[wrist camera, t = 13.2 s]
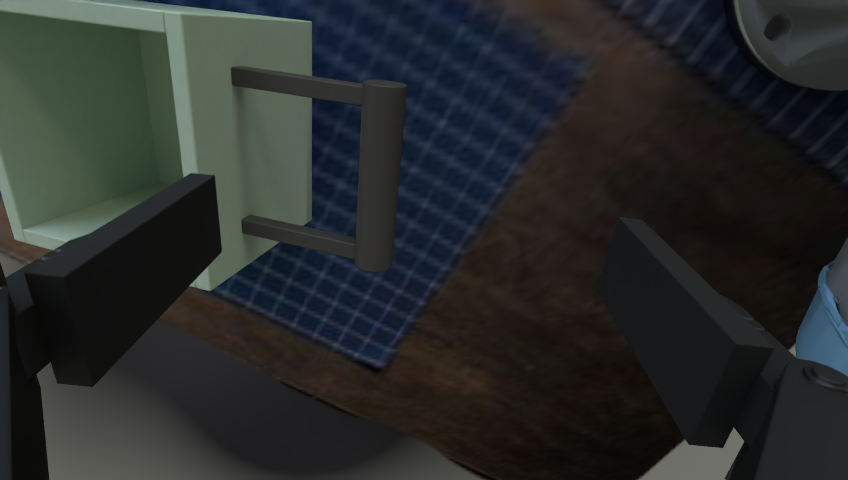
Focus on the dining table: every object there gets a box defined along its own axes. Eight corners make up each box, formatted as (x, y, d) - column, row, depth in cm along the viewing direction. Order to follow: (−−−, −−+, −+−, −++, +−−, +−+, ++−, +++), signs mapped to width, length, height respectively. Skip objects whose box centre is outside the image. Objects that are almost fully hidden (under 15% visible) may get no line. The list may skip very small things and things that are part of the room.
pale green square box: (449, 38, 24) (383, 37, 15) (425, 244, 29) (365, 332, 21) (133, 0, 28) (-63, -18, 20) (160, 187, 33) (14, 240, 25)
